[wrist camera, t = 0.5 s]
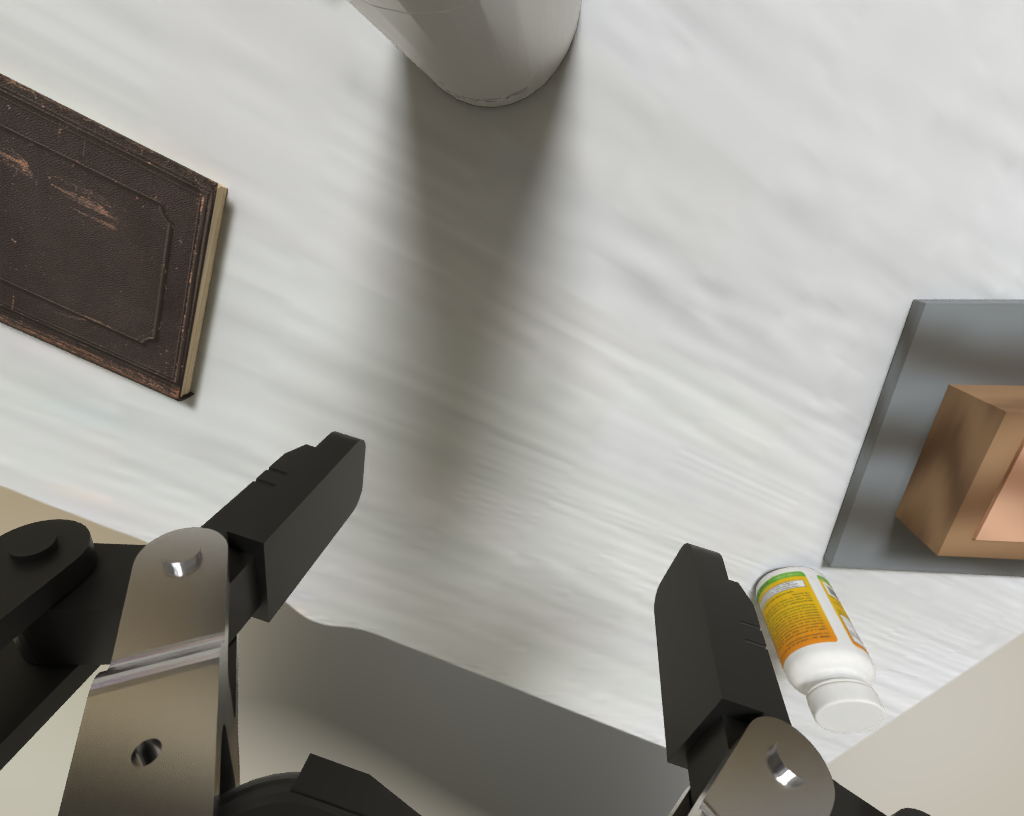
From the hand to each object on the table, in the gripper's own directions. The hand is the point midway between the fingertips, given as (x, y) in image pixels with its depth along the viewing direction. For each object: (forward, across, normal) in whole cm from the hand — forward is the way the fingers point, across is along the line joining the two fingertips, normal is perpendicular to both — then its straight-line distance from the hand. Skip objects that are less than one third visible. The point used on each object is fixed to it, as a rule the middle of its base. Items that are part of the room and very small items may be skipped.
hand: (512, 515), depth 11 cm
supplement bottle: (+21, -23, +18) cm, 36 cm away
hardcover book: (+18, +35, +4) cm, 39 cm away
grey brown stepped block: (+23, -30, +3) cm, 38 cm away
